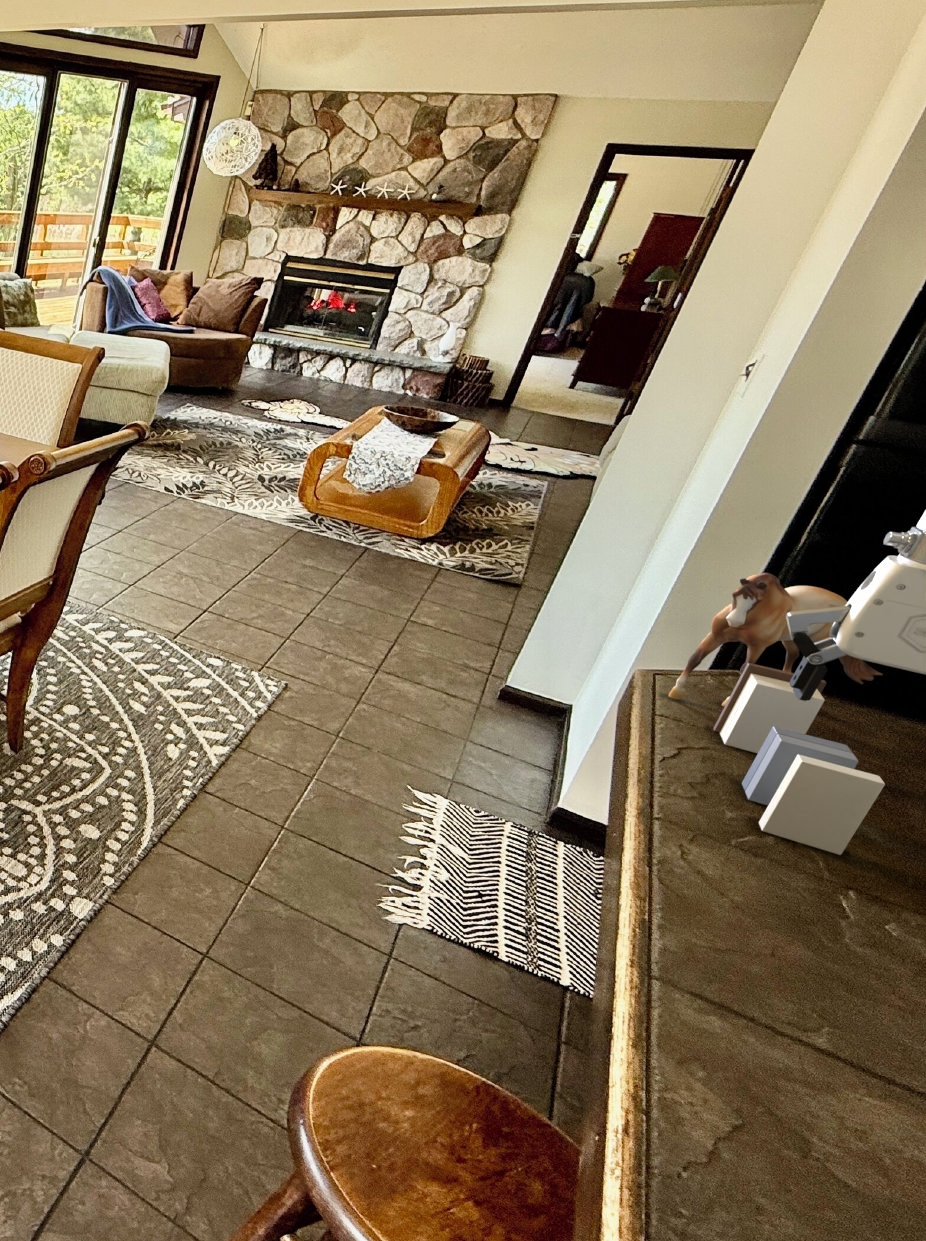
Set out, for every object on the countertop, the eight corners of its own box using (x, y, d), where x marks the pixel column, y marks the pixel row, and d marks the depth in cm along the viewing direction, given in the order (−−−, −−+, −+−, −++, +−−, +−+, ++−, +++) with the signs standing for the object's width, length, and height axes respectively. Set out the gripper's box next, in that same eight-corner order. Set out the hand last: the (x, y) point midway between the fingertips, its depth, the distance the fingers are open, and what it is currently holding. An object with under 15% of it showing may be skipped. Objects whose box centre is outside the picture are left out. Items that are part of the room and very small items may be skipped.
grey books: (812, 804, 102) (847, 745, 99) (822, 821, 99) (859, 761, 96) (741, 783, 105) (772, 725, 102) (748, 800, 102) (781, 740, 99)
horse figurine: (690, 718, 120) (761, 579, 113) (631, 691, 127) (694, 558, 120) (863, 710, 126) (942, 577, 118) (797, 684, 133) (868, 557, 125)
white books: (786, 748, 114) (824, 680, 110) (795, 764, 111) (835, 694, 107) (712, 728, 118) (747, 662, 114) (719, 743, 114) (755, 675, 111)
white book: (836, 846, 94) (879, 775, 91) (841, 855, 93) (885, 784, 90) (758, 822, 98) (797, 753, 94) (761, 831, 96) (801, 761, 93)
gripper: (843, 542, 85) (756, 695, 92) (1132, 594, 76) (1012, 762, 82) (824, 525, 91) (743, 671, 97) (1091, 572, 81) (981, 731, 88)
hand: (866, 712), depth 90 cm, fingers open, 9 cm apart
